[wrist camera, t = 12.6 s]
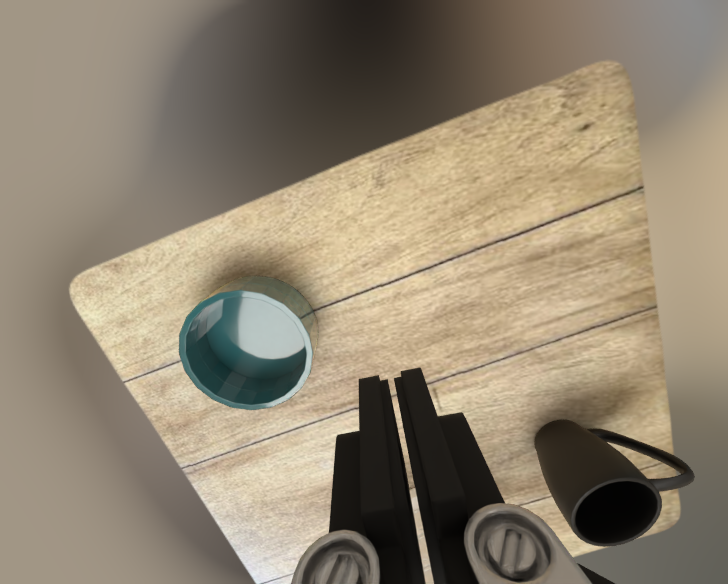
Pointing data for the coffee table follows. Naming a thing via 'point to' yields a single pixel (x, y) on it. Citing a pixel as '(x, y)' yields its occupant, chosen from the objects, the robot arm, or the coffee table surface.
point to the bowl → (250, 343)
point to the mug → (603, 482)
